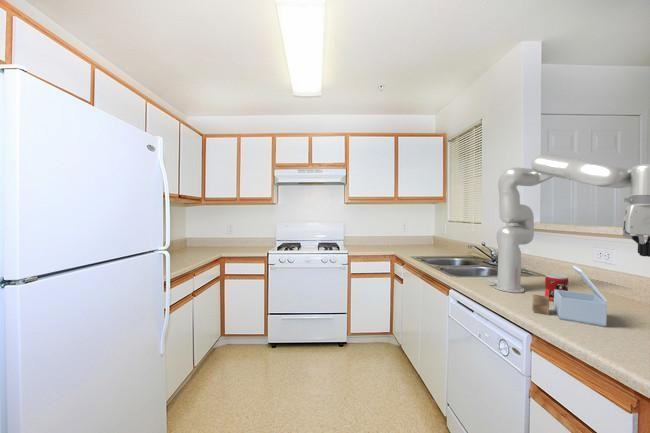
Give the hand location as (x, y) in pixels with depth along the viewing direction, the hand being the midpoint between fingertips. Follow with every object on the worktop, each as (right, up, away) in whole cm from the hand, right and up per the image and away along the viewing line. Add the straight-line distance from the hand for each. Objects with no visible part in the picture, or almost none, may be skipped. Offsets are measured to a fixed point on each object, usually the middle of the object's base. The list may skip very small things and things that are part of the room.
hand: (645, 255), depth 91 cm
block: (-24, -24, +14) cm, 37 cm away
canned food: (-5, -24, +29) cm, 38 cm away
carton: (-14, -24, +9) cm, 29 cm away
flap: (-12, -11, +8) cm, 18 cm away
